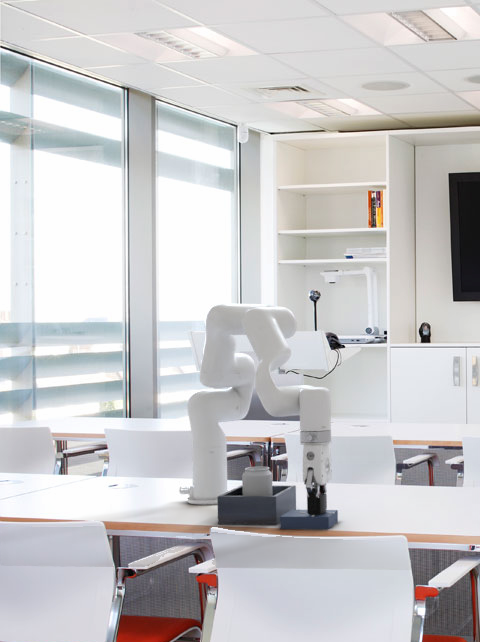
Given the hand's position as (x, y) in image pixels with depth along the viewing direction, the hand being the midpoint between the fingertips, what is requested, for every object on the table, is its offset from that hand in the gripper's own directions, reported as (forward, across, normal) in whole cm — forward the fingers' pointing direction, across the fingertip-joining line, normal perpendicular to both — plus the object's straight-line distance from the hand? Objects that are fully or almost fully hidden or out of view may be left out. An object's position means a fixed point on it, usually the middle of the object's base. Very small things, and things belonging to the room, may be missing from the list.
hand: (317, 511), depth 243 cm
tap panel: (+4, 0, +2) cm, 4 cm away
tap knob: (0, 0, 0) cm, 0 cm away
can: (+3, +9, +18) cm, 20 cm away
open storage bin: (+4, +9, +18) cm, 20 cm away
